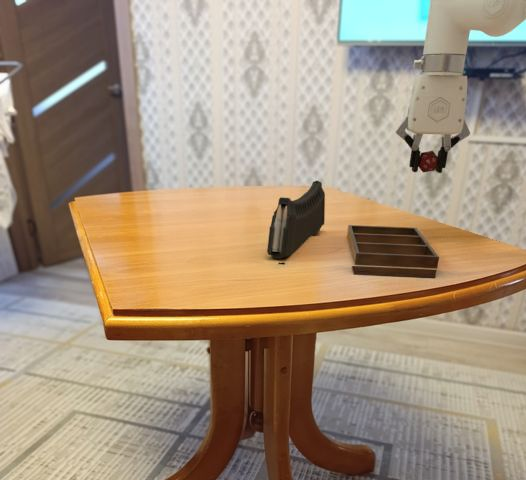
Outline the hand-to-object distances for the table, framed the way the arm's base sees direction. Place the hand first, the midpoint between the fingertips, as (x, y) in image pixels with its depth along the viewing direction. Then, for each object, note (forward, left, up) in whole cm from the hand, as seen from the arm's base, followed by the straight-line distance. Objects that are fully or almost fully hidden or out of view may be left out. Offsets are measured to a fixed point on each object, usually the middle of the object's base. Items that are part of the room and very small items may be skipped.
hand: (426, 170), depth 102 cm
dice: (0, 0, 0) cm, 0 cm away
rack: (+9, +18, -13) cm, 24 cm away
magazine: (+25, +13, -13) cm, 31 cm away
